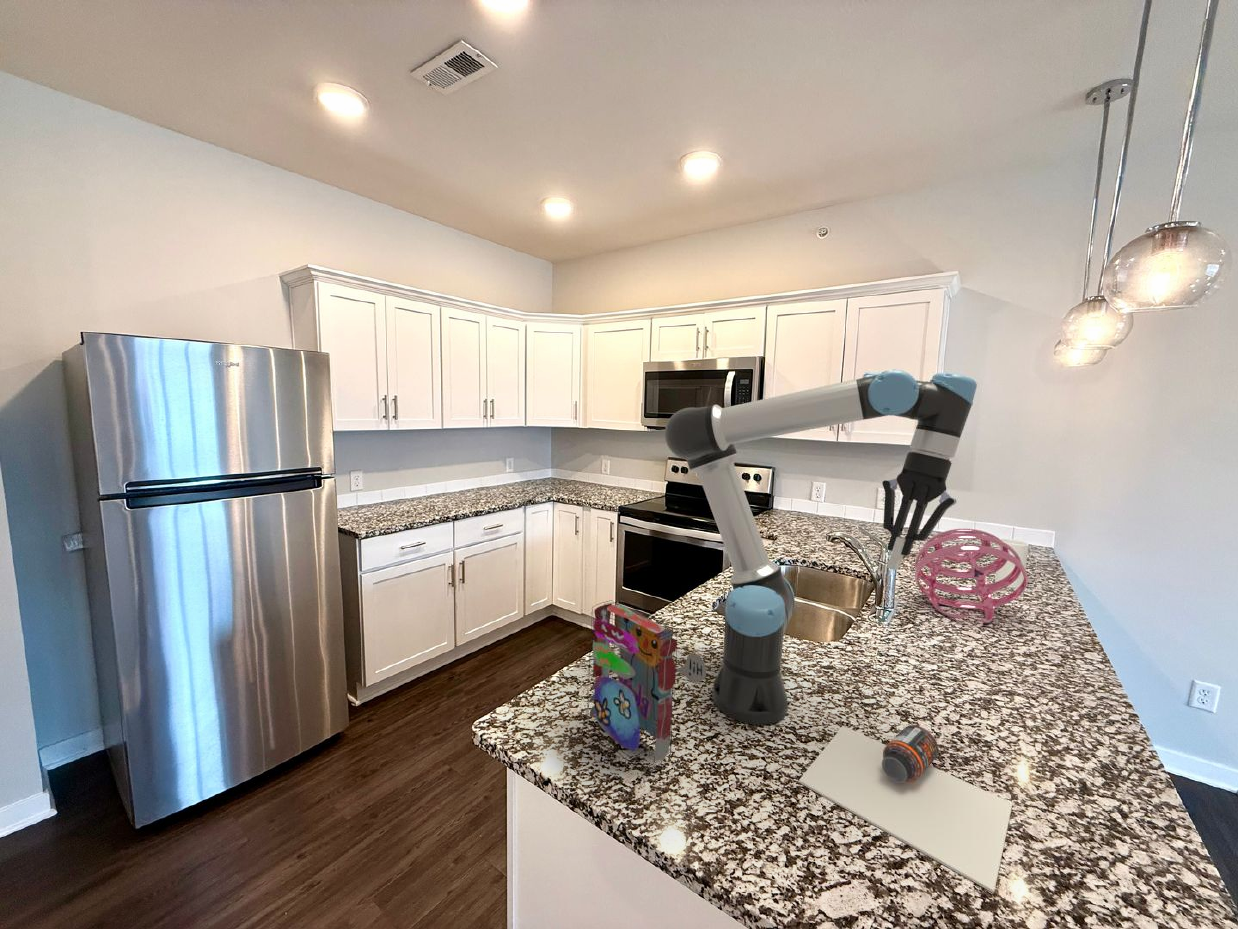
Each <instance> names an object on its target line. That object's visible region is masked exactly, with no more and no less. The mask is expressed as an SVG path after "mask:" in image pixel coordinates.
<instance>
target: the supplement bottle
mask: <svg viewBox="0 0 1238 929" xmlns="http://www.w3.org/2000/svg"><path fill="white" fill-rule="evenodd" d="M885 745H886V747H885V748H884V750H883V760H882V768H883V770H884V772H885V774H886V775H887V776H888V777H889V778H890V779H891V780H893V781H895V782H898V783H903V782H905V781H908V782H910V781H915V780H917V779H918V778H919V777H920V776H921V775H922V774H923V773H924V772H925V770H926V769H927V768H928V767H929V766H931V765H932V763H933V762H934V761H935V760H936V759H937V757H938V756H939V749H940V748H939V745H938V742H937V740H936V738H935V737H934V736H933V735H932V733H930V731H928V729H925V728H924V727H922V726H919V725H916V724H910V725H907V726H905V727H904V728H903V729H901V731H900V732H899V733H898V734H896V735H895V736H894V737H893V738H892V739H891V740H890V742H888V743H887V744H885Z"/></svg>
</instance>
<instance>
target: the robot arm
mask: <svg viewBox="0 0 1238 929" xmlns="http://www.w3.org/2000/svg"><path fill="white" fill-rule="evenodd" d="M913 376H914V375H911V374H910V373H908V372H907V371H904V370H902V369H901V370H900V369H890V370H886V371H882V372H877V373H876V372H870V371H869V372H866V373H864V374H863V375H862V377H860V378H857V379H851V380H846V381H841V382H836V383H832V384H827V385H824V386H818V387H814V388H810V389H805V390H800V391H796V392H791V393H786V394H782V395H776V396H773V397H768V398H764V399H759V400H754V401H749V402H745V403H741V404H736V405H731V406H728V407H721V406H720V405H718V404H713V405H709V406H701V407H685V408H682V409H680V410H678V411H676V412H675V413H674V414H672V415H671V417H670V418H669V419H668V420H667V423H666V425H665V427H664V439H665V443H666V445H667V447H668V449H669V450H670V452H672V454H673V455H675V456H677V457H678V458H680V459H683V460H686V464H687V466H688V469H689V471H690V472H692V473H694V474H695V475H698V478H699V479H700V483H701V485H702V488H703V491H704V493H705V496H706V499H707V501H708V504H709V507H710V510H711V512H712V515H713V518H714V520H715V523H716V526H717V528H718V531H719V534H720V537H721V541H722V544H723V546H724V548H725V551H726V554H727V556H728V559H729V562H730V565H731V567H732V571H733V572H732V575H731V577H730V579H729V580H730V584H731V586H732V589H733V590H731V592H730V593H729V594H728V595H727V598H726V603H725V606H724V618H725V619H724V634H723V651H722V654H723V655H722V656H723V657H722V663H721V665H720V668H719V671H718V673H717V675H716V677H715V680H714V682H713V685H712V686H713V687H712V701H713V703H714V705H715V707H716V708H717V709H718V710H719V711H720V712H722V713H723V714H724V715H726V716H727V717H728V718H731V719H733V720H736V721H738V722H742V723H746V724H749V725H756V726H757V725H759V726H760V725H763V726H764V725H771V724H774V723H777V722H779V721H781V720H782V719H783V718H785V716H786V715H787V711H788V697H787V692H786V688H785V684H784V680H783V678H782V672H781V668H782V657H783V656H782V654H783V642H784V635H785V632H786V629H787V627H788V625H789V622H790V619H791V617H792V615H793V614H794V609H795V607H796V606H795V604H796V603H795V602H796V601H795V600H796V599H795V593H794V590H793V587H792V586H791V584H790V582H789V581H788V580H787V579H786V578H785V577H784V576H783V573H782V571H781V568H780V566H779V565H778V564H777V563H775V562H774V561H771V560H770V557H769V556H768V552H767V550H766V547H765V544H764V542H763V539H762V537H761V533H760V530H759V529H758V528H759V527H758V525H757V523H756V520H755V518H754V517H755V516H754V515H753V512H752V509H751V506H750V504H749V501H748V499H747V495H746V492H745V490H744V487H743V483H742V482H741V479H740V477H739V473H738V472H737V471H738V470H737V468H736V466H735V461H736V458H737V456H738V452H737V450H736V447H735V444H740V443H745V442H750V441H755V440H756V441H757V440H761V439H766V438H771V437H776V436H783V435H784V436H785V435H788V434H793V433H800V432H804V431H809V430H810V431H811V430H815V429H820V428H826V427H827V428H828V427H832V426H837V425H842V424H843V425H844V424H847V423H848V424H849V423H854V422H859V421H864V420H865V421H866V420H870V419H871V420H872V419H876V418H877V419H878V418H881V417H887V416H891V417H892V416H896V417H901V418H905V419H909V420H915V421H917V424H916V427H915V430H914V432H913V433H914V434H913V436H912V439H911V442H910V444H909V449H911V451H909V452H907V454H906V457H905V461H904V463H903V467H902V469H901V472H900V473H898V475H897V477H896V478H894V479H889V480H883V481H882V483H881V484H882V486H883V489H884V490H883V491H884V507H883V509H884V510H883V528H884V529H885V530H887V531H888V532H889V533H890V534H891V536H890V538H889V542H888V545H887V550H888V551H891V553H890V557H889V559H888V562H887V565H886V568H887V569H890V570H893V571H897V570H899V569H900V567H901V566H900V565H901V564H902V560H903V556H905V557H907V556H910V554H911V552H912V548H913V546H914V543H915V542H916V541H917V542H918V541H920V542H921V541H926V540H927V539H928V538H929V536H930V535H931V533H932V531H933V530H935V528H936V526H937V525H938V524H939V522H940V521H941V519H942V517H943V516H944V514H945V512H947V510H948V509H950V508H951V507H952V506H954V505H956V504H957V499H956V498H954V497H952V496H951V495H950V494H949V493H948V492H947V486H946V482H947V478H948V476H949V472H950V470H951V467H952V464H953V463H952V461H951V460H950V459H952V458H954V457H955V456H956V452H957V449H958V447H959V443H960V441H961V438H962V437H961V436H962V434H963V432H964V429H965V425H966V423H967V419H968V417H969V414H970V411H971V408H972V406H973V405H974V403H973V402H974V398H975V395H976V391H977V387H978V383H977V381H976V380H975V379H974V378H971V377H969V376H966V375H959V374H957V373H947V372H946V373H945V372H941V373H940V372H938V373H935V374H934V375H932V377H931V379H930V381H922V380H916V379H915V378H914V377H913ZM898 488H899V489H900V492H901V494H902V498H901V503H900V507H899V509H898V512H897V514H896V518H895V504H896V502H895V501H896V490H897V489H898ZM939 497H940V499H939V500H938V501H939V504H938V505H937V506H936V508H935V509H934V510H933V512H932V514H931V515H930V517H929V518H928V520H927V521H926V522H925V524H924V525H923V527H922V528H921V530H920V532H919V529H920V527H921V524H922V521H923V517H924V515H925V512H926V509H927V507H928V505H929V503H930V502H932V501H934V500H935V499H936V498H939ZM914 501H916V503H915V509H914V510H913V514H912V517H911V520H910V522H909V523H910V524H909V527H908V528H907V532H906V535H905V536H902V535H903V530H904V528H905V525H906V521H907V519H908V516H909V512H910V510H911V507H912V504H913V502H914Z"/></svg>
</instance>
